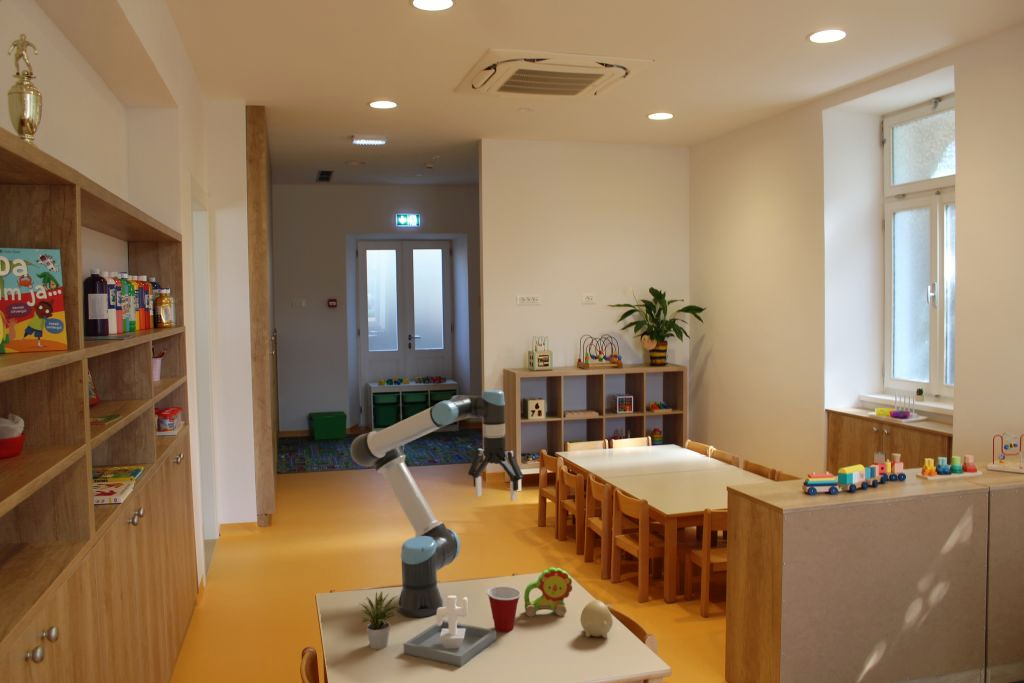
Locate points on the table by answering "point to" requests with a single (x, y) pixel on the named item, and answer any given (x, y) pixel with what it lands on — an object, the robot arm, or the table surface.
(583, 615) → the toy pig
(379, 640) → the house plant
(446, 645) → the figurine
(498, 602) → the plastic cup
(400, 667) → the table surface
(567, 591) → the toy lion
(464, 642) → the tray
